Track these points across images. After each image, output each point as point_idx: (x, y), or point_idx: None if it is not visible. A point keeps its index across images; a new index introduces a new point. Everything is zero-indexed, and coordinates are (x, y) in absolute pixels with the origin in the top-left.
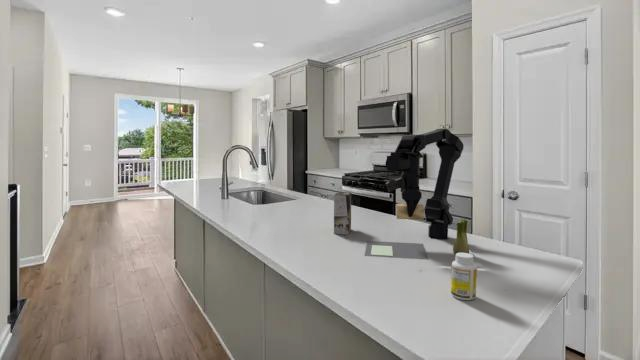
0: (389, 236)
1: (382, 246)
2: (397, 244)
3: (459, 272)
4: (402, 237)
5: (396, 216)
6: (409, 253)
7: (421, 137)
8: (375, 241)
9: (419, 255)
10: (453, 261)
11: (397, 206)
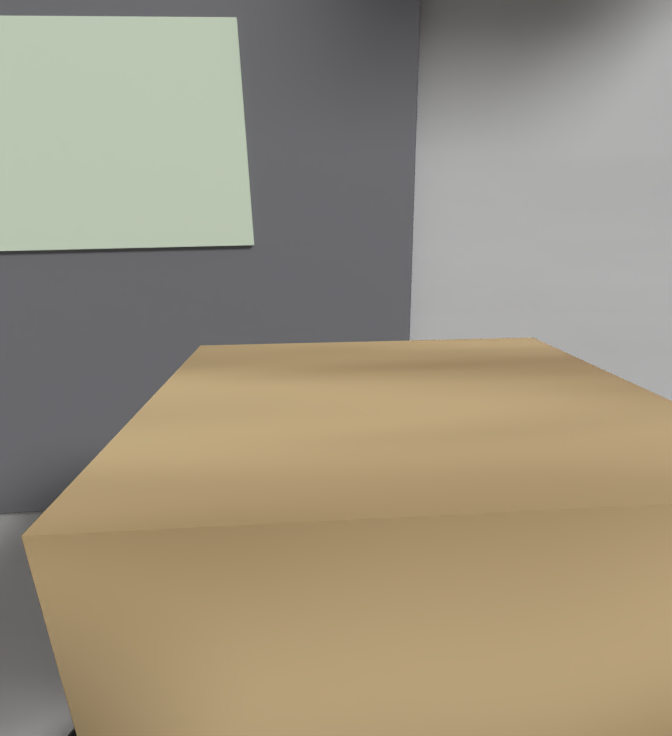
0: (664, 216)
1: (212, 144)
2: (340, 294)
3: None
4: (627, 337)
5: (430, 341)
6: (93, 389)
7: None
8: (407, 58)
9: (68, 458)
10: None
11: (39, 545)
